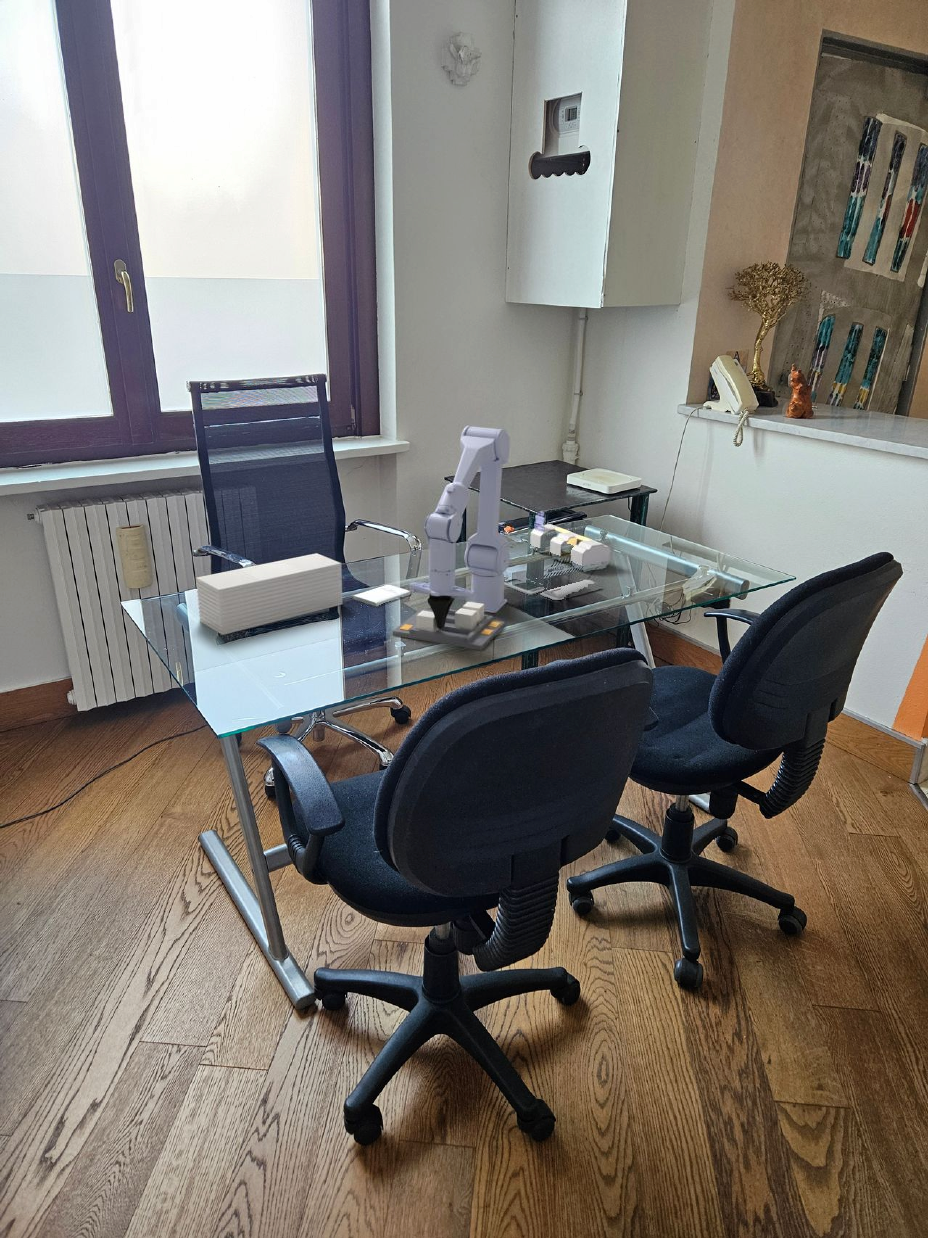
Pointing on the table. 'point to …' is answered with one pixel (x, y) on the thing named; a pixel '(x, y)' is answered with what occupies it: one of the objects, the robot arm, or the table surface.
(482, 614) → the white block
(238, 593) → the stack of papers
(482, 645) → the switch bank
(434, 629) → the white block
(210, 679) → the table surface
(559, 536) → the diorama
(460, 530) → the robot arm
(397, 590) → the external hard drive
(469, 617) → the white block
